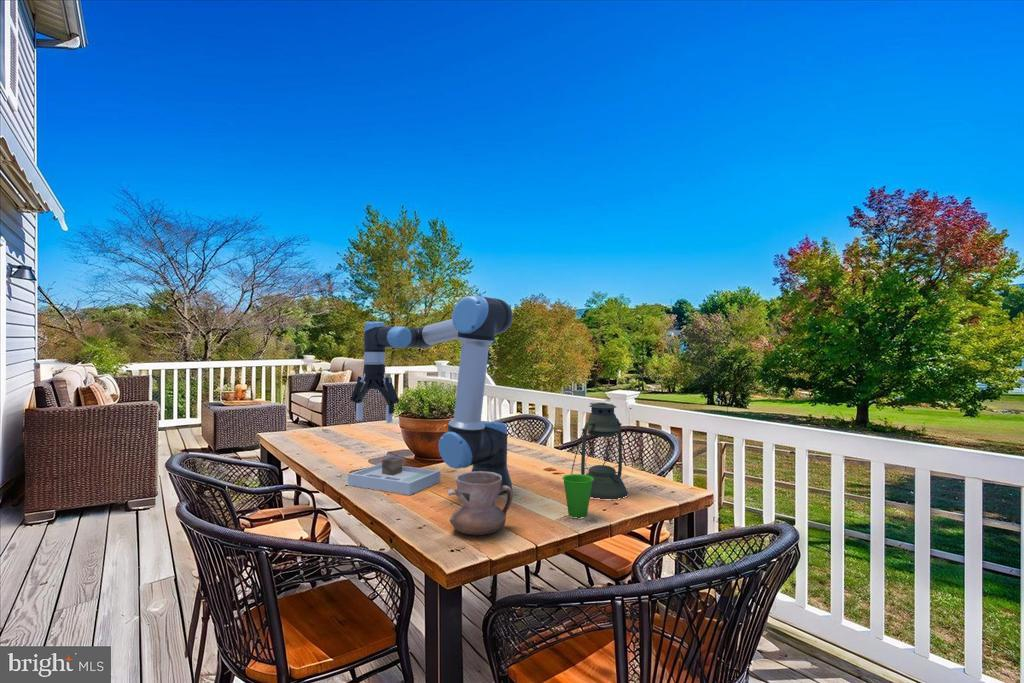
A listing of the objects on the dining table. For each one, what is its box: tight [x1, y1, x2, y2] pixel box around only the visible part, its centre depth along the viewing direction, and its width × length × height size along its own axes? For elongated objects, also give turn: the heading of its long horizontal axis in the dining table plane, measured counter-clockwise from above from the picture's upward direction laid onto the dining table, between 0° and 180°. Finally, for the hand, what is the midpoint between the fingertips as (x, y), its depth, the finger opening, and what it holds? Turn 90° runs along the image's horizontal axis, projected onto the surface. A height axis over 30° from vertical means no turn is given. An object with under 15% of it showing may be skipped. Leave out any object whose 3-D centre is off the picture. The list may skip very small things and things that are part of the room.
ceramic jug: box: [446, 471, 514, 536], centre depth 133 cm, size 18×14×14 cm
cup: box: [562, 473, 594, 518], centre depth 145 cm, size 9×9×11 cm
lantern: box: [570, 402, 629, 499], centre depth 168 cm, size 21×18×30 cm
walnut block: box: [381, 456, 403, 475], centre depth 181 cm, size 5×5×5 cm
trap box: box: [347, 462, 441, 496], centre depth 176 cm, size 26×18×4 cm
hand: (374, 421), depth 184 cm, fingers open, 13 cm apart
